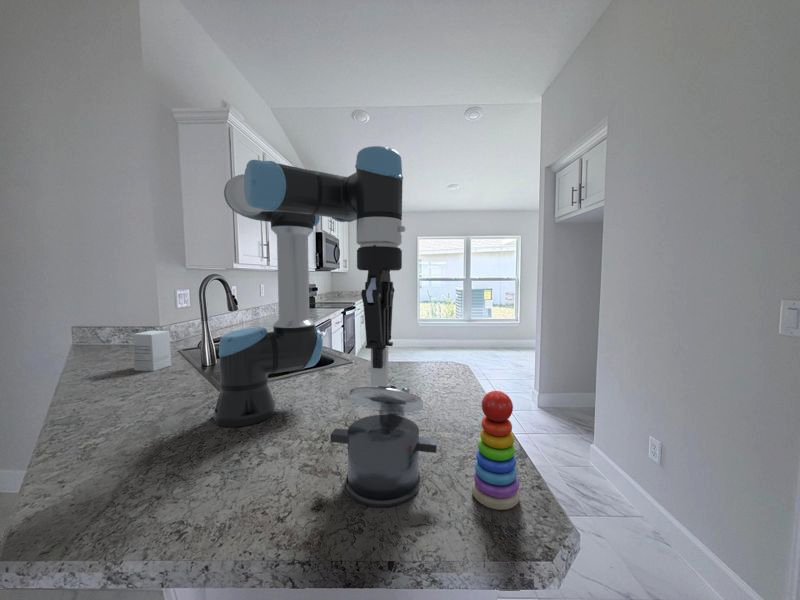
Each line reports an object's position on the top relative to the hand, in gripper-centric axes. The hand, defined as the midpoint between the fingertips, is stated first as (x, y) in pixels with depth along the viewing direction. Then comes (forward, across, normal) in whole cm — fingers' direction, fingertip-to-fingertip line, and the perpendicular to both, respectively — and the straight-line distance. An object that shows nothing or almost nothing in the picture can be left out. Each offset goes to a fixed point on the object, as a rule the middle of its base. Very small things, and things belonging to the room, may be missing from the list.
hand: (379, 384), depth 56 cm
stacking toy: (+20, +3, -20) cm, 28 cm away
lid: (+6, +4, 0) cm, 7 cm away
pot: (+19, +3, 0) cm, 20 cm away
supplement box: (+20, +57, +111) cm, 126 cm away
